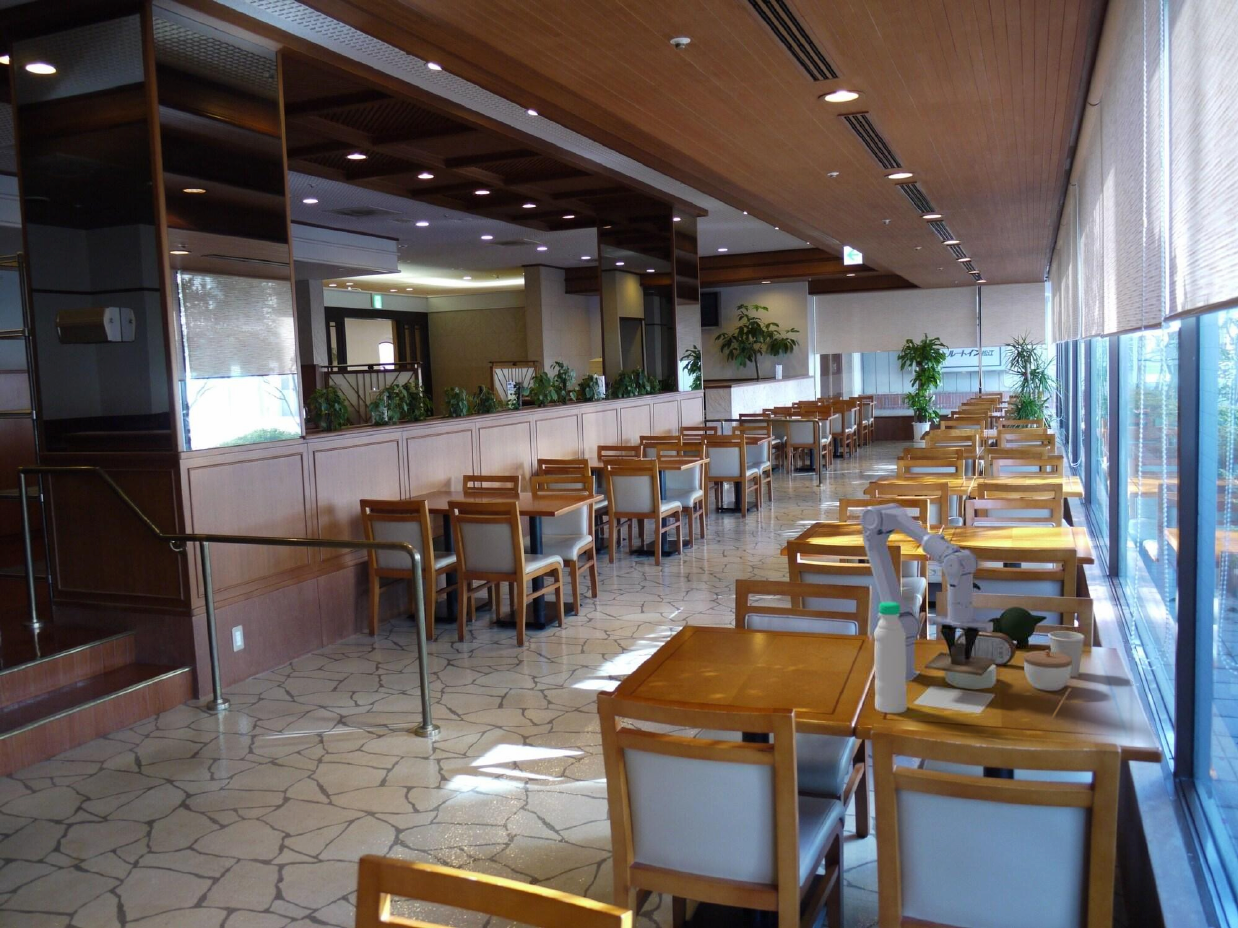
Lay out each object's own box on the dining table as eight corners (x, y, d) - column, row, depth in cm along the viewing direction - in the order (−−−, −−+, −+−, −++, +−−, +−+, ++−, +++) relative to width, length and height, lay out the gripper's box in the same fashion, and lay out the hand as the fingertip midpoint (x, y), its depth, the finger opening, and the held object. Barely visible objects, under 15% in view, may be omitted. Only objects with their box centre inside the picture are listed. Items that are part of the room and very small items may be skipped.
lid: (924, 668, 234) (924, 648, 234) (940, 655, 245) (940, 636, 245) (981, 675, 227) (981, 655, 227) (995, 661, 238) (995, 642, 237)
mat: (913, 705, 230) (913, 703, 230) (931, 687, 242) (931, 685, 242) (979, 715, 222) (979, 713, 222) (995, 695, 234) (995, 694, 234)
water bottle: (901, 716, 222) (900, 607, 220) (870, 712, 226) (869, 604, 224) (910, 707, 228) (909, 601, 226) (880, 703, 232) (878, 598, 230)
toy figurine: (952, 651, 278) (1048, 651, 267) (945, 585, 277) (1041, 582, 266) (957, 643, 286) (1050, 642, 275) (950, 578, 286) (1043, 575, 274)
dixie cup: (1064, 667, 254) (1064, 629, 254) (1092, 675, 247) (1092, 636, 246) (1040, 672, 251) (1040, 633, 250) (1068, 680, 243) (1068, 641, 243)
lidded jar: (1076, 696, 232) (1077, 657, 231) (1028, 694, 234) (1028, 655, 233) (1065, 682, 243) (1066, 644, 242) (1019, 680, 245) (1019, 643, 244)
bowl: (941, 686, 243) (941, 668, 242) (953, 674, 252) (953, 656, 252) (988, 692, 237) (988, 674, 236) (999, 679, 246) (999, 662, 246)
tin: (1016, 665, 258) (1016, 633, 257) (1013, 668, 255) (1013, 636, 255) (957, 658, 266) (956, 627, 265) (954, 661, 263) (953, 630, 263)
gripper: (924, 602, 236) (924, 657, 237) (987, 608, 227) (987, 665, 229) (933, 596, 241) (933, 650, 243) (995, 601, 233) (995, 658, 234)
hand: (960, 657), depth 236 cm, fingers closed on lid, 3 cm apart
